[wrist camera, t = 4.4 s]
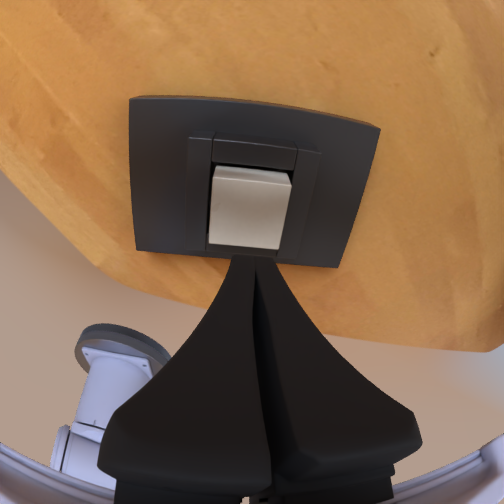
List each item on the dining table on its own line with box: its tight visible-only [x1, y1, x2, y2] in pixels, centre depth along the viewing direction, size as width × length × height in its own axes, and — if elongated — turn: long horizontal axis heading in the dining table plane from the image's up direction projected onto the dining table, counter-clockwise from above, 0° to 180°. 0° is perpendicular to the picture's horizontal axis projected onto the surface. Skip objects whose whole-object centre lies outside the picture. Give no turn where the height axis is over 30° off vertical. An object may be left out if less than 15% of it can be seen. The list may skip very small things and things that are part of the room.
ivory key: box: [209, 165, 292, 250], centre depth 14 cm, size 4×4×2 cm
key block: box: [129, 95, 381, 268], centre depth 16 cm, size 10×14×4 cm
